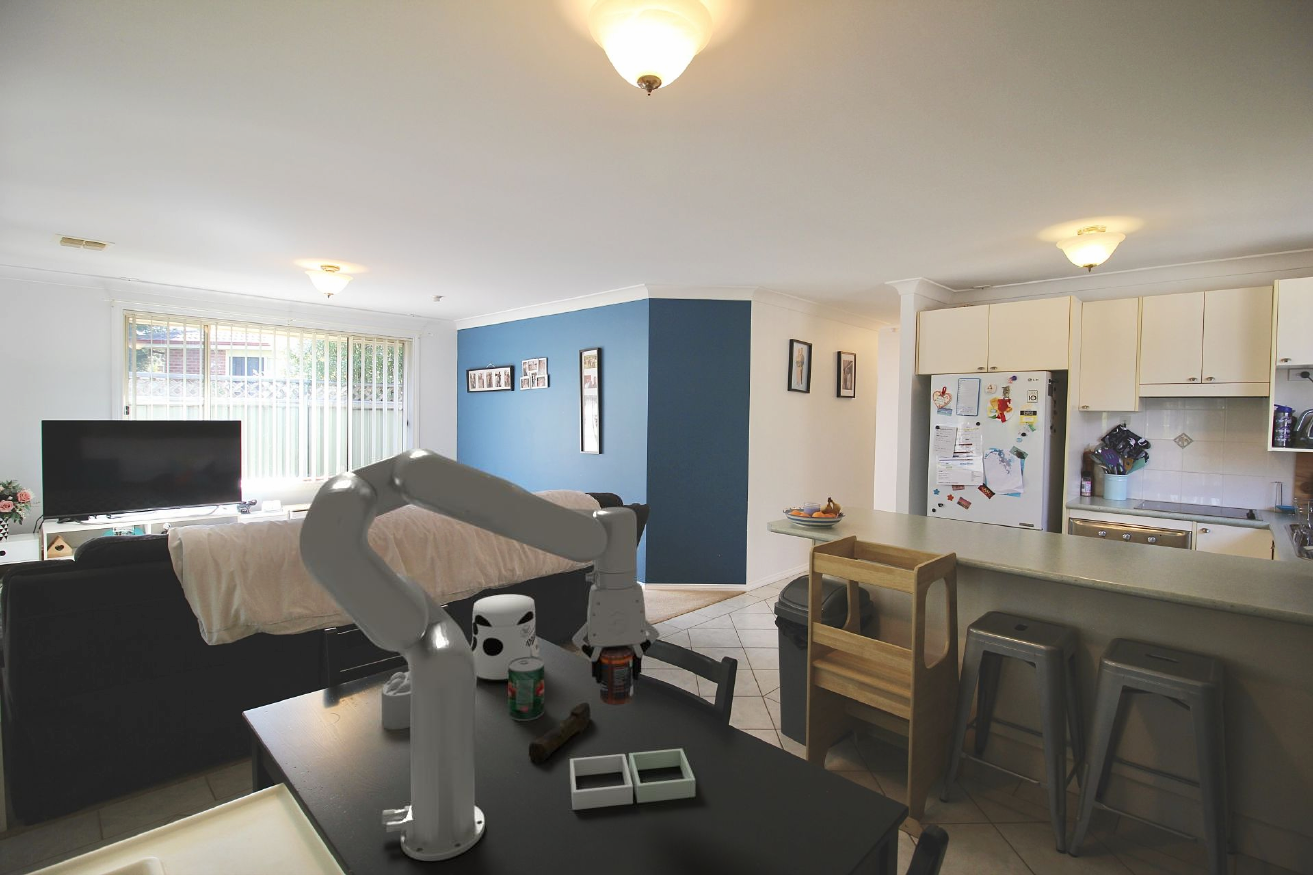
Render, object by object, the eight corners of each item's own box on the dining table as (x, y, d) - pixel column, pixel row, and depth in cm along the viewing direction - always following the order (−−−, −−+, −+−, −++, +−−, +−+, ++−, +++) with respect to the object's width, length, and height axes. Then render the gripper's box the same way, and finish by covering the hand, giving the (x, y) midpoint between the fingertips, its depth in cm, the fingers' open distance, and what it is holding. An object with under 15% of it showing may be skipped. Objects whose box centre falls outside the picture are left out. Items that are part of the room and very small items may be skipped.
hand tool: (543, 767, 117) (544, 743, 117) (527, 760, 119) (527, 737, 118) (600, 723, 133) (600, 702, 133) (585, 718, 135) (585, 697, 135)
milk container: (552, 672, 158) (552, 603, 157) (492, 694, 146) (492, 619, 145) (514, 653, 170) (514, 589, 169) (455, 672, 158) (455, 602, 157)
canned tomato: (550, 714, 136) (550, 665, 136) (516, 724, 132) (516, 673, 131) (535, 700, 143) (535, 653, 142) (502, 709, 138) (502, 661, 138)
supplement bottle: (640, 698, 110) (640, 635, 109) (616, 710, 106) (615, 645, 105) (616, 687, 114) (616, 627, 113) (592, 699, 110) (592, 636, 109)
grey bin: (572, 809, 104) (572, 792, 104) (569, 774, 114) (569, 758, 114) (632, 803, 106) (632, 786, 106) (624, 769, 116) (624, 753, 116)
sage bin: (637, 802, 106) (637, 785, 106) (629, 768, 116) (629, 753, 116) (695, 796, 108) (695, 779, 108) (681, 763, 118) (682, 748, 118)
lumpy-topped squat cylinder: (449, 706, 140) (449, 668, 139) (406, 734, 128) (406, 692, 127) (413, 697, 144) (413, 661, 143) (368, 724, 132) (368, 684, 131)
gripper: (567, 587, 103) (568, 692, 104) (668, 581, 107) (668, 683, 108) (565, 575, 111) (566, 673, 112) (659, 570, 114) (660, 665, 115)
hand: (616, 677), depth 110 cm, fingers closed on supplement bottle, 6 cm apart
